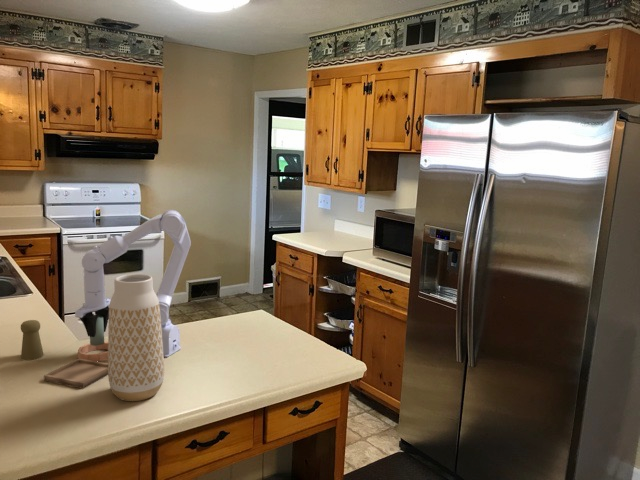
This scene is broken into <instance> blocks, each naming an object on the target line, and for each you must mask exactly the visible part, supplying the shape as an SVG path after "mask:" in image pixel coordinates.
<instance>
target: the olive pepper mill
mask: <svg viewBox="0 0 640 480" xmlns="http://www.w3.org/2000/svg"><path fill="white" fill-rule="evenodd" d="M40 329H41V323H40V321H38V320H37V319H29V320H25V321H23V322H22V323H21V324H20V330H21V332H22V340H21V341H22V344H21V351H20V353H21V355H20V358H21V360H23V361H34V360H39V359H41V358H43V357H44V355H45V353H44V350H43V346H42V341H41V337H40V336H41V335H40V332H39V331H40Z"/></svg>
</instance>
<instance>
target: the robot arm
mask: <svg viewBox="0 0 640 480" xmlns="http://www.w3.org/2000/svg"><path fill="white" fill-rule="evenodd" d="M162 231H163V232H164V233H165V234H166V235H168V236H169V237H170V239H171V241H172V243H173V248H172V251H171V253H170V257H169V258H168V262H167V265H166V268H165V270H164V274H163V276H162V278H161V282H160V284H159V287H158V290H157V292H156V293H155V294H156V295H157V297H158V300H159V306H160V317H161V329H162V342H163V354H164V357H165V358H168V357H170V356H171V355H173V354H174V353H177V352H178V351H180V350H181V349H182V347H181V345H180V343H181V338H180V337H181V335H180V334H181V333H180V328H179V326H178V325H175V324H173V323H172V319H170V313H169V312H170V307H171V303H172V298H173V296H174V293H175V290H176V287H177V284H178V282H179V279H180V277H181V276H180V275H181V273H182V271H183V268H184V265H185V262H186V259H187V257H188V254H189V250H190V248H191V245H192V242H191V238H190V234H189V231H188V228H187V223H186V220H185V219H184V217H183V216H182V215H181V213H180V211H179V212H178V211H177V210H175V209H167V210H166V211H164V212H163V214H162V213H160V214H158V215H155V216H154V217H151V218H150V219H148V220H146V221H145V222H143V223H142V224H140V225H138V226H137V227H135V228H134V229H133V230H131V231H129V232H128V233H126V234H124V235H123V236H119V235H115V236H112V235H110V236H109V237H107V240H106V241H104V242H103V243H101V244H99V245H95V246H93V249H89V250H88V251H87V252H86V253H85V254H84V256H82V259H81V266H82V268H83V287H84V288H83V290H84V303H82V306H81V307H80V308H78V309H76V310H74V314H75V316H74V317H75V318H79V320H80V321H81V322H82V324H83V326H84V329H85V331H86V335H87V337H89V338H90V337H95V334H96V322H97V318H98V316H103V322H104V333H105V332H106V331H107V327H108V324H109V304H110V301H111V298H112V297H108V298H106V278H105V272H104V264H108V263H110V262H112V261H113V260H115V259H117V258H119V257H120V256H122V255H124V254H126V253H127V252H128V249H129V246H130V245H133V244H134V243H136V242H137V241H139V240H141V239H143V238H145V237H147V236H148V235H150V234H161V233H162Z"/></svg>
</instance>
